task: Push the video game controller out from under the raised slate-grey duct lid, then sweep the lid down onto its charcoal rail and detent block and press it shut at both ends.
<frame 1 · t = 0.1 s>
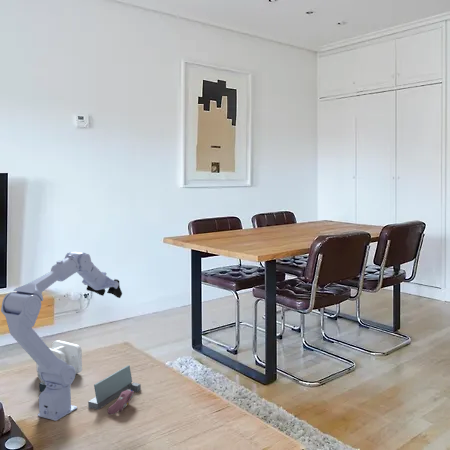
hand: (112, 294, 179), 32 cm above the table, tool tilted 50°, fingers open, 7 cm apart
watch: (49, 391, 172), on the table
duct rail: (110, 397, 166), on the table
cable organizer: (59, 375, 186), on the table
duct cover: (116, 392, 165), point 2 cm above the table, hinge at 100.0°
video game controller: (121, 409, 158), on the table
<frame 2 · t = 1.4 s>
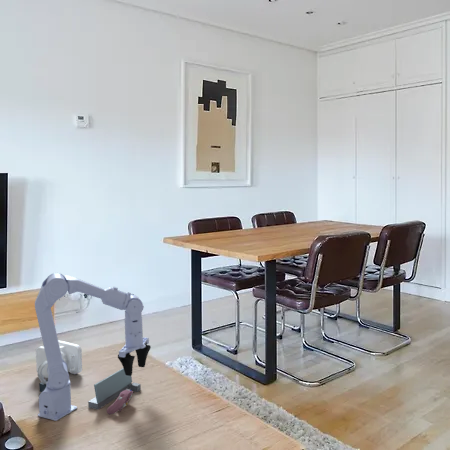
hand: (135, 370, 165), 10 cm above the table, tool pointing down, fingers open, 7 cm apart
nothing on the table moved.
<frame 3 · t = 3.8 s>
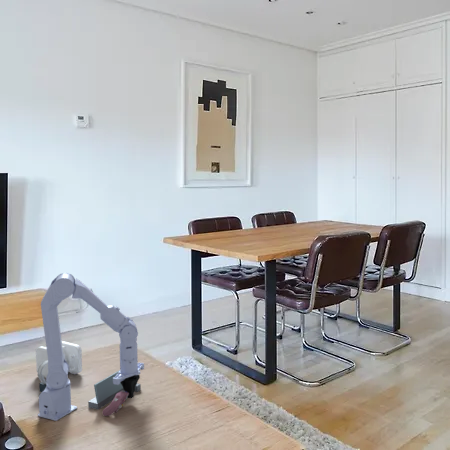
hand: (129, 397, 162), 2 cm above the table, tool pointing down, fingers closed
video game controller: (116, 410, 157), on the table, touching gripper
everything else where it was.
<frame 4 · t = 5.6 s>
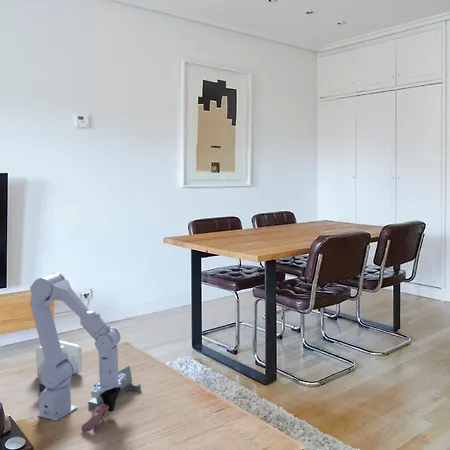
hand: (110, 410, 153), 2 cm above the table, tool pointing down, fingers closed
video game controller: (96, 425, 148), on the table, touching gripper
everything else where it was.
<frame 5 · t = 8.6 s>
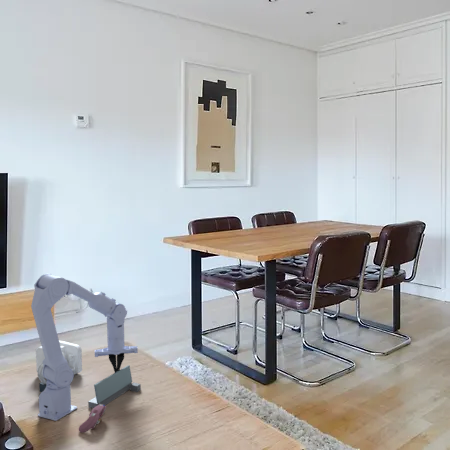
hand: (116, 374, 171), 6 cm above the table, tool pointing down, fingers closed
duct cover: (116, 392, 165), point 2 cm above the table, hinge at 99.9°, touching gripper
video game controller: (93, 426, 148), on the table
everything else where it was.
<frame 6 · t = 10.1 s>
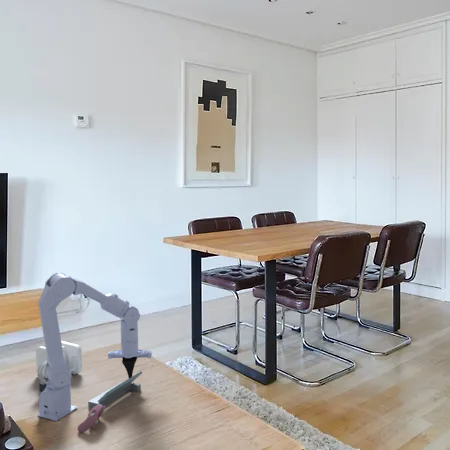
hand: (130, 377, 169), 6 cm above the table, tool pointing down, fingers closed, pressing on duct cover
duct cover: (116, 392, 165), point 2 cm above the table, hinge at 42.2°, touching gripper
everything else where it was.
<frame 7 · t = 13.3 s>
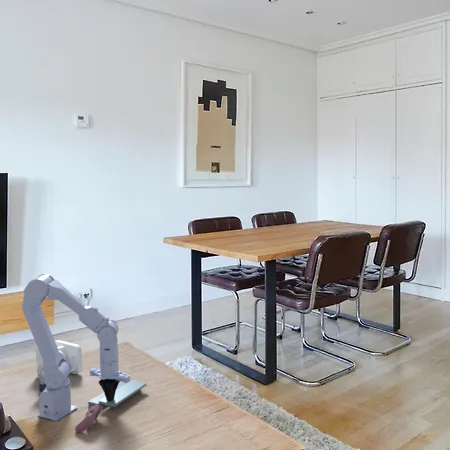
hand: (110, 400, 158), 3 cm above the table, tool pointing down, fingers closed, pressing on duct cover
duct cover: (116, 392, 165), point 2 cm above the table, hinge at -1.6°, touching gripper
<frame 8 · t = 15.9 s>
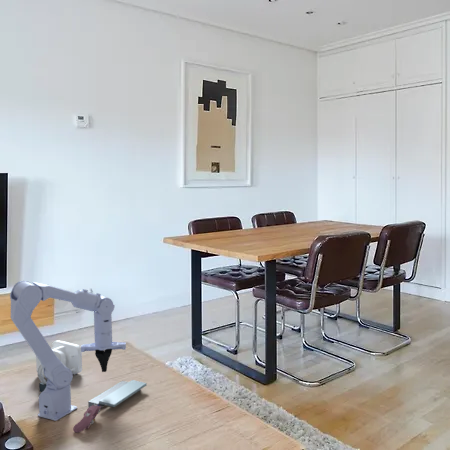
hand: (104, 370, 165), 9 cm above the table, tool pointing down, fingers closed
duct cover: (116, 392, 165), point 2 cm above the table, hinge at -1.6°
at the end: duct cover at -2° (first picture: +100°); video game controller inside the target area (2.8 cm from its centre), on the table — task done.
